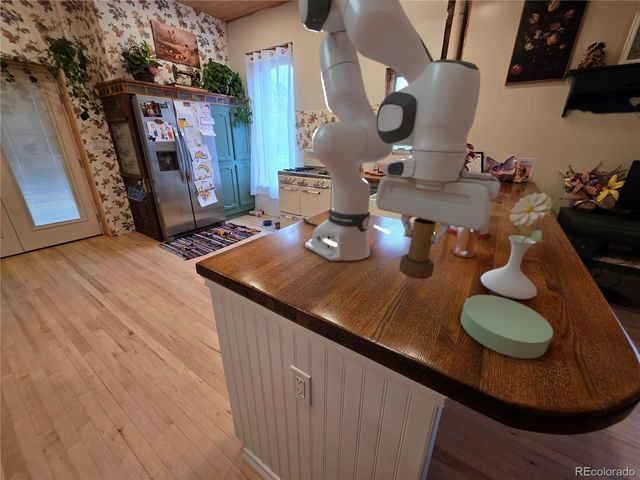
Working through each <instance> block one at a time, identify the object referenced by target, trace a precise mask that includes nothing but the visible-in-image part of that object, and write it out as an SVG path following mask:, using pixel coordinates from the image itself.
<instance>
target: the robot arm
mask: <svg viewBox="0 0 640 480" xmlns="http://www.w3.org/2000/svg"><path fill="white" fill-rule="evenodd" d="M298 11H299V15H300V19H301V23H302V24H303V26H304V28H305V29H306V30H308V31H310V32H314V33H320V32H323V33H326V34H325V35H324V36H323V37H322V39H321V41H320V43H319V49H318V52H319V53H318V54H319V56H318V57H319V69H320V71H319V72H320V77H321V82H322V88H323V93H324V97H325V104H326V107H327V109H328V111H329V112H330V113H331V114H332V115H333V116H335V117H336V118H338V120H339V121H331V122H327V123H322V124H320V125H318V127H316V129H315V131H314V133H313V135H312V139H311V148H312V152H313V154H314V157H315V158H316V159H317V160H318V161H319V162H320V163H321V164H322V165H323V166H324V167H325V169H326V170H327V172H328V174H329V177H330V180H331V183H332V208H330V210H326V211H325V215H329V216H328V218H327V219H326V220H324V221H323V222H322V223H321V224H319V225H318V224H316V223H313V222H310V221H307V219H306V217H302V221H303V222H304V224H306V225H309V226H313V227H315V228H314V229H313V231H312V234H311V235H312V236H311V238H310V239H308V240H307V241H306V242H305V244H304V247H305V248H306V249H309V250H311V251H312V252H314V253H315V254H318V255H320V256H321V257H323V258H325V259H327V260H329V261H330V262H340V261H360V260H365V259H367V258H368V257H370V255H371V250H370V249H371V248H370V243H369V227H370V219H371V210H370V202H371V185H370V183H369V182H368V181H367V180H366V179H365V178H364V177H362V175H361V173H360V170H359V169H360V168H359V165H360V164H372V163H377V162H380V161H383V160H385V159H387V158H388V157H389V156H390V155H391V153H392V152H393V149H394V146H396V147H397V146H399V147H411V150H410V155H409V157H403V158H400V159H398V160H393V161H390V162H386V163H384V164H383V166H382V173H383V174H384V175H383V176H382V177H381V178H380V180H379V183H378V186H377V191H376V195H375V196H376V197H375V205H376V208H377V209H378V210H380V211H383V212H390V213H393V214H399V215H401V217H400V220H401V223H402V226H403V228H404V233H403V234H404V235H403V236H404V237H407V238H410V239H411V237H412V231H413V226H412V223H411V219H412V218H415V219H416V218H421V219H425V220H430V221H435V222H436V223H439V226H438V228H439V229H441V230H440V231H438V233H437V232H434V234H432V235H431V240H430V243H432V244H431V245H437V246H438V245H440V244H441V241H442V237H443V235H444V234H445V233H447V231H449V228H450V226H451V225H453V226H458V227H462V228H467V229H472V230H476V231H479V230H481V229H483V228H485V227H486V226H487V224H489V222H490V219H491V214H492V207H493V202H494V201H495V200H496V199H497V198H498V197H499V194H500V191H501V186H502V185H501V181H500V180H499V178H497V177H496V176H493V173H489V172H477V171H470V170H463V169H464V165H465V160H466V156H467V153H468V136H469V133H470V130H471V129H472V127H473V124H474V121H475V118H476V112H477V108H478V103H479V96H480V89H481V88H480V87H481V72H480V71H481V70H480V68H479V67H478V66H477V64H475V63H473V62H470V61H465V60H462V59H461V60H458V59H456V60H455V59H448V58H447V59H445V58H444V59H437V60H434V59H433V57H432V54H431V53H430V51H429V49H428V48H427V47H428V46H426V43H425V42H424V41H423V39H422V37H421V36H420V35H419V33H418V31H416V29H415V26H414V25H413V24H412V22H411V21H410V19H409V17H408V15H407V13H406V12H405V9H404V8H403V6H402V4H401V2H400V0H298ZM358 53H359V54H360V55H361V56H362V57H364V58H366V59H368V60H371V61H374V62H376V63H379V64H381V65H384V66H386V67H388V68H390V69H392V71H393V70H394V71H395V72H396V73H398V74H399V75H400V76H401V77H402V78H403V79H404V81H405V83H406V86H404V87H402V88H401V89H399V90H397V91H392V92H390V93H389V94H388V95H386V97H385V98H384V99H383V100H382V102H381V103H380V104H379V107H378V110H377V112H375V110H374V108H373V107H372V105H371V103H370V101H369V98H368V95H367V93H366V92H367V91H366V89H365V84H364V80H363V75H362V69H361V64H360V61H359V57H358ZM373 228H375V229H377V230H379V231H381V232H384V233H386V234H388V235H390V231H388V230H387V229H385V228H382V227H380V226H378V225H376V224H374V225H373Z"/></svg>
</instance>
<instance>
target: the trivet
mask: <svg viewBox="0 0 640 480" xmlns="http://www.w3.org/2000/svg"><path fill="white" fill-rule="evenodd" d="M460 323H461V325H462V328H463V329H464V330H465V332H466V333H467V334H468V335H469V336H470V337H472V338H473V340H474V341H476V342H478V343H479V344H481V345H482V346H484V347H485V348H488V349H490V350H492V351H494V352H497V353H499V354H501V355H505V356H508V357H513V358H518V359H536V358H540V357H542V356H543V355H545V353H546V352H547V350H548V348H549V345H550V342H551V341H552V338H553V336H554V330H553V328H552V325H551V324H550V322H548V320H547V319H546V318H544V316H543V315H541V314H540V313H538V312H537V311H535V310H533V309H532V308H530V307H528V306H527V305H525V304H522V303H520V302H518V301H515V300H512V299H509V298H507V297H503V296H502V297H501V296H498V295H497V296H496V295H490V294H478V295H473V296H471V297H470V296H469V297H468V298H467V299H466V300H465V301H464V303H463V307H462V312H461V315H460Z"/></svg>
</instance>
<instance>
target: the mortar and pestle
mask: <svg viewBox="0 0 640 480" xmlns="http://www.w3.org/2000/svg"><path fill="white" fill-rule="evenodd" d="M412 225H413V226H412V227H413V231H412V237H411V238H410V244H409V248H408V249H409V250H408V252H407V253H406V254H404V255H403V256H401V258H400V261H399V267H398V269H399V271H400V272H401V273H402V275H405V276H407V277H409V278H413V279H416V280H417V279H418V280H425V279H430V278H432V276H433V273H434V269H435V263H434V261H433V260H432V259H431V257H430V252H431V248H432V245H433V244H432V243H430V240H431V235H432V234H434V233H435V229H436V225H437V222H435V221H430V220H425V219H421V218H416V217H415V218H414V220H413V224H412Z"/></svg>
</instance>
